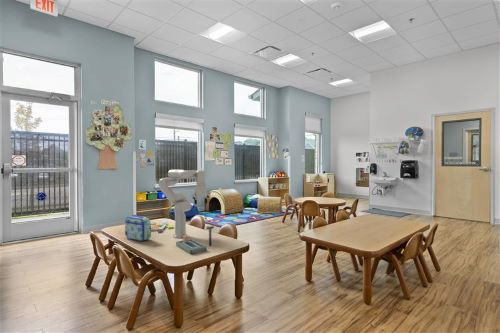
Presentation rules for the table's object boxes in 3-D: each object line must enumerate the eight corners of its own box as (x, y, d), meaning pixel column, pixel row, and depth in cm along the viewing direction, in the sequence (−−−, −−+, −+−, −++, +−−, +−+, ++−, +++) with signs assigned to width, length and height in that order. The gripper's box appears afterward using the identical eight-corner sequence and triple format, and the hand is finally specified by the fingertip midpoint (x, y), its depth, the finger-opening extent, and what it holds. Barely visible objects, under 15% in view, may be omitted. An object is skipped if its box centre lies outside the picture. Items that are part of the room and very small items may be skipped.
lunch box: (123, 238, 246) (123, 215, 246) (133, 235, 256) (133, 213, 255) (141, 243, 233) (141, 218, 232) (152, 240, 242) (152, 216, 241)
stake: (206, 245, 225) (206, 227, 225) (212, 244, 229) (212, 225, 228) (207, 246, 223) (207, 227, 223) (214, 245, 227) (214, 226, 227)
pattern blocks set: (138, 226, 293) (138, 223, 293) (171, 223, 305) (171, 221, 305) (138, 235, 258) (138, 232, 257) (174, 232, 270) (174, 229, 270)
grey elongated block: (201, 249, 213) (201, 240, 213) (191, 251, 208) (191, 242, 208) (189, 242, 230) (189, 234, 229) (180, 244, 225) (180, 236, 225)
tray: (176, 245, 225) (176, 241, 225) (191, 242, 233) (191, 238, 233) (190, 254, 204) (190, 249, 204) (206, 250, 212) (206, 246, 212)
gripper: (207, 183, 249) (207, 202, 249) (189, 184, 238) (189, 204, 239) (211, 184, 243) (211, 203, 243) (193, 185, 232) (193, 205, 233)
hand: (200, 203), depth 241 cm, fingers open, 9 cm apart
